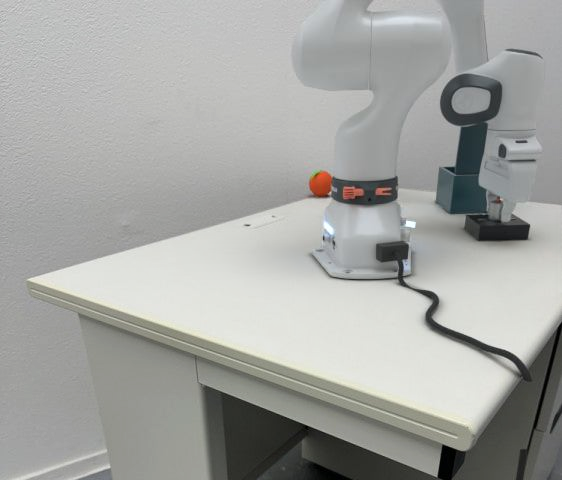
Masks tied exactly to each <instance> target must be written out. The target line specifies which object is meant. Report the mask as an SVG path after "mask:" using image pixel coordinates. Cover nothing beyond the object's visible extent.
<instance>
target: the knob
mask: <svg viewBox="0 0 562 480" xmlns="http://www.w3.org/2000/svg"><path fill="white" fill-rule="evenodd" d="M503 206H504V204H503V199H501V198H500V199H496V200H495V201H491V202H490V209H489V213H488V214H489V215H488V219H489V220H491V221H501V220H499V217H500V212H501V211H502V209H503Z"/></svg>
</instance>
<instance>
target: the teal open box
mask: <svg viewBox="0 0 562 480" xmlns="http://www.w3.org/2000/svg"><path fill="white" fill-rule="evenodd" d="M454 171H455V165H454V166H451V165H450V166H439V167H438V174H437V182H436V183H437V184H436V194H435V203H436V204H438V205H439V206H440V207H441V208H443V210H445V211H446V212H447V213H448V214H450V215H458V214H489V213H488V212H487V211H486V209H487V198H486V192H487V190H486V189H485V188H483V187H481V186H479V173H473V174H455V173H454ZM497 199H500V200H501V197H499V196H497Z"/></svg>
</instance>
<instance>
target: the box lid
mask: <svg viewBox="0 0 562 480" xmlns="http://www.w3.org/2000/svg"><path fill="white" fill-rule="evenodd" d="M459 128H460V129H459V135H458V143H457V150H456V158H455V164H454V166H455V171H454V173H455V174H473V173H480V167H481V162H482V158H483V155H484V150H485V143H486V136H487V129H488V124H487V123H486V122H483V123H480V124H477V125H472V126H468V127H459Z"/></svg>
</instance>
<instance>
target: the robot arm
mask: <svg viewBox="0 0 562 480" xmlns="http://www.w3.org/2000/svg"><path fill="white" fill-rule="evenodd" d="M435 1H436V2H437V4H438V5H439V7H440V8H441V9H442V11H443V13H444V15H445V17H446V19H445V18H444V16H443V15H441V14H437V13H432V12H429V11H422V10H416V9H405V10H386V11H372V10H368V8H369V7H370V5H371V4H372V2H374V0H322V2H321V3H320V4H319V6H318V7H317V8H316V9H315V11H313V12H312V13H311V14H310V15H309V16H308V17H307V18H306V19H304V21H302V23H300V25H299V27H298V28H297V29H296V31H295V34H294V36H293V39H292V43H291V49H290V59H291V65H292V68H293V72H294V74H295V76H296V77H297V80H298V81H300V83H301V84H302V85H303V86H304V87H308V88H312V89H317V90H321V91H328V92H336V91H339V92H340V91H370V92H372V93H373V94H372V95H373V98H372V101H371V102H370V103H369V105H368V106H367V107H365V108H364V109H362V110H360V111H358V112H356V113H354V114H353V115H351V116H349V117H348V118H347V119H344V121H342V122H341V123H340V125H339V126H338V127H337V129H336V132H335V134H334V160H333V161H334V165H333V176H332V184H331V191H330V192H331V194H330V196H331V198H332V200H331V201H330V202H329V204H328V205H327V206H326V207H325V208H324V209H323V211H322V236H321V237H322V239H321V246H316V247H313V248H312V256H313V257H314V258H315V259H316V260H317V262H318V263H319V264H320V265H321V267H322V268H323V269H324V270H325V272H327V274H328V275H329V276H330V277H334V278H339V279H349V280H378V279H379V280H380V279H382V280H383V279H394V278H397V280H398V282H399V285H400V286H402V287H403V288H407V289H409V290H412V291H414V292H416V293H419V294H421V295H424V296H426V297H430V298H431V299H432V303H431V304H430V306H429V307H428V308H427V309H426V311H425V314H424V315H425V316H424V317H425V320H426V323H427V324H429V326H431V327H432V328H433V329H435V330H436V331H438V332H440V333H442V334H444V335H446V336H449V337H452V338H455V339H457V340H458V341H459V340H460V341H462V342H464V343H467V344H468V345H472V346H474V347H476V348H478V349H479V350H481V351H484V352H487V353H489V354H493V355H496V356H500V357H503V358H504V359H507V360H508V361H510V362H512V363H513V364H514V365H515V367H516V368H517V369H518V371H519V373H520V375H521V376H522V379H523V380H524V381H525V382H527V383H532V382H533V378H532V376H531V374H530V371H529V369H528V368H527V366H526V365H525V363H524V362H523V361H522V360H521V359H520V358H519V357H518V355H516V354H514V353H513V352H511V351H508V350H506V349H503V348H500V347H496V346H493V345H490V344H488V343H485V342H483V341H480V340H479V339H476V338H474V337H471V336H470V335H468V334H465V333H461V332H460V331H456V330H454V329H451V328H449V327H446V326H444V325H441V324H440V323H438V322H437V321H436V320H435V319H434V318H433V317H432V315H433V313H434V311H435V310H436V309H437V307H438V306H439V303H440V298H439V296H438V294H437V293H436V292H434V291H432V290H427V289H421V288H420V289H419V288H414V287H412V286H410V285H408V284H407V283H406V281H405V279H404V277H406V276H410V275H411V274H412V246H411V245H410V244H409V243H410V240H411V229H409V228H416V221H410V220H407V218H406V217H403V207H402V206H401V204H400V203H399V202H397V201H398V200H397V199H398V197H399V176H398V175H397V164H398V154H399V147H400V141H401V135H402V131H403V127H404V124H405V121H406V119H407V116H408V114H409V112H410V111H411V109H412V107H413V106H414V104H415V103H416V102H417V101H418V99H419V98H420V96H421V95H422V94H423V93H424V92H425V91H426V90H427V89H428V88H430V87H431V86H432V85H434V83H436V82H437V81H438V80H439V79H440V78H441V77H442V75H443V74H444V72H445V71H446V70H447V67H448V65H449V63H450V60H451V56H452V52H453V59H454V67H455V76H454V77H452V78H451V79H450V80H449V81H448V82H447V83H446V84H445V86H444V88H443V89H442V91H441V94H440V99H439V107H440V108H439V109H440V113H441V114H442V115H441V116H442V117H443V118H444V119H445V120H446V122H448V123H449V124H451V125H453V126H455V127H459V128H461V127H468V126H472V125H477V124H480V123H483V122H486V123H487V124H488V129H487V136H486V143H485V150H484V155H483V158H482V162H481V167H480V173H479V186H481V187H483V188H485V189H486V190H487V192H486V198H487V209H486V211H487V212H488V213H487V214H489V209H490V202H491V201H495V200H496V199H497V196H499V197H500V199H502V201H503V204H504V206H503V209H502V211H501V212H500V217H499V220H501V221H502V222H509V221H510V219H511V214H513V211H514V210H515V208H516V205H517V204H523V203H525V204H526V203H527V202H528V201H529V200H530V198H531V197H532V194H533V190H534V185H535V182H536V181H535V180H536V176H537V172H538V161H537V160H541V159H542V155H543V146H542V144H540V143H539V141H538V138H537V136H536V132H537V127H538V126H537V115H538V111H539V108H540V106H541V104H542V98H543V93H544V86H545V85H544V84H545V76H546V64H545V63H546V62H545V60H544V58H543V56H541V55H540V54H539V53H537V52H535V51H532V50H531V51H530V50H526V49H525V50H524V49H519V48H506V49H504V50H502V51H501V52H500V53H499V54H498V55H496V56H495V57H493V58H492V59H490V60H489V54H488V45H487V44H488V43H487V34H486V23H485V0H435ZM446 20H447V21H446ZM402 227H409V228H402ZM528 450H529V448H520V449H519V455H518V461H517V462H518V463H517V468H516V469H517V470H516V475H515V480H524V477H525V473H526V472H525V471H526V465H527V458H528Z"/></svg>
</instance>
